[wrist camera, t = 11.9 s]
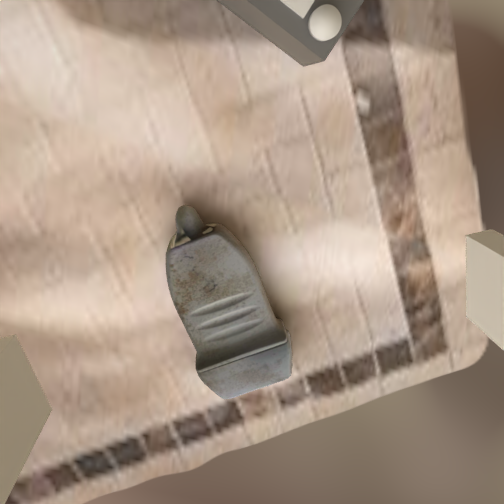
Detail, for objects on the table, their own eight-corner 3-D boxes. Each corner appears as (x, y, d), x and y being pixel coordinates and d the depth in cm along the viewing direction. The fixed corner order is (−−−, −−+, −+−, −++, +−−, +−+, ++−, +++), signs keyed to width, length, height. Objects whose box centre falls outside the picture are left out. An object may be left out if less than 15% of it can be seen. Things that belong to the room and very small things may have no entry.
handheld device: (232, 182, 38) (234, 194, 33) (297, 352, 45) (306, 380, 41) (134, 219, 38) (124, 236, 34) (215, 382, 46) (215, 413, 41)
